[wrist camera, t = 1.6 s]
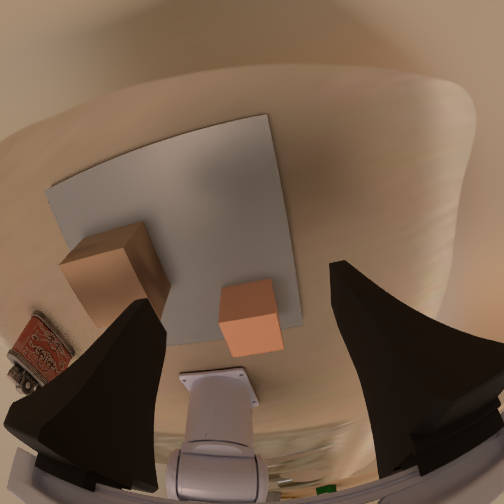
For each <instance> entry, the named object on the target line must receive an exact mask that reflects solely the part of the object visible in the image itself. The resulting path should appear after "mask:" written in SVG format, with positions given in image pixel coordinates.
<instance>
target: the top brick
mask: <svg viewBox="0 0 504 504" xmlns="http://www.w3.org/2000/svg"><path fill="white" fill-rule="evenodd" d="M218 324H219V326H220V328H221V331H222V333H223V335H224V338H225V340H226V342H227V345H228V347H229V349H230V351H231V354H232V356H233V357H240V356H247V355H253V354H260V353H266V352H272V351H277V350H283V349H284V346H283V339H282V333H281V326H280V320H279V314H278V309H277V304H276V300H275V295H274V290H273V286H272V281H271V278H270V279H264V280H259V281H254V282H249V283H244V284H238V285H233V286H228V287H222V288H221V297H220V308H219V320H218Z"/></svg>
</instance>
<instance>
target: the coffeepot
mask: <svg viewBox="0 0 504 504" xmlns="http://www.w3.org/2000/svg"><path fill="white" fill-rule="evenodd" d="M280 498H281V492H268V494H267V497H266V502H274V501H280Z"/></svg>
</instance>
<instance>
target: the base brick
mask: <svg viewBox="0 0 504 504" xmlns="http://www.w3.org/2000/svg"><path fill="white" fill-rule="evenodd" d="M59 267H60V268H61V270H62V272H63V274H64V276H65V277H66V279H67V281H68V283H69V284H70V286H71V288H72V289H73V291H74V293H75V294H76V296H77V298H78V299H79V301H80V302H81V304H82V306H83V307H84V309H85V310H86V312H87V313H88V315H89V316H90V318H91V319H92V321H93V322H94V324H95V325H96V326H97V327H106V326H110V325H111V324H112V323H113V322H114V321H115V320H116V319H117V317H118V316H119V315H120V314H121V313H122V312H123V311H124V310H125V309H126V308H127V307H128V306H129V305H130V304H131V303H132V302H133V301H134V300H136V299H143V298H148V299H149V301H150V303H151V305H152V307H153V309H154V310H155V312H156V314H157V316H158V318H159V319H160V320H161V317H162V314H163V310H164V307H165V304H166V301H167V298H168V295H169V292H170V289H171V285H170V283H169V280H168V278H167V276H166V274H165V271H164V269H163V267H162V265H161V262H160V260H159V258H158V255H157V253H156V251H155V248H154V246H153V244H152V241H151V239H150V236H149V234H148V231H147V229H146V226H145V224H144V221H140V222H136V223H133V224H129V225H126V226H122V227H119V228H116V229H112V230H109V231H106V232H102V233H99V234H96V235H93V236H90V237H87V238H83V239H82V240H81V241H80V242H79V243H78V244H77V246H76V247H75V248H74V249H73V250H72V251H71V252H70V253H69V254H68V255H67V256H66V258H65V259H64V260H63V261H62V262H61V263H60V264H59Z"/></svg>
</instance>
